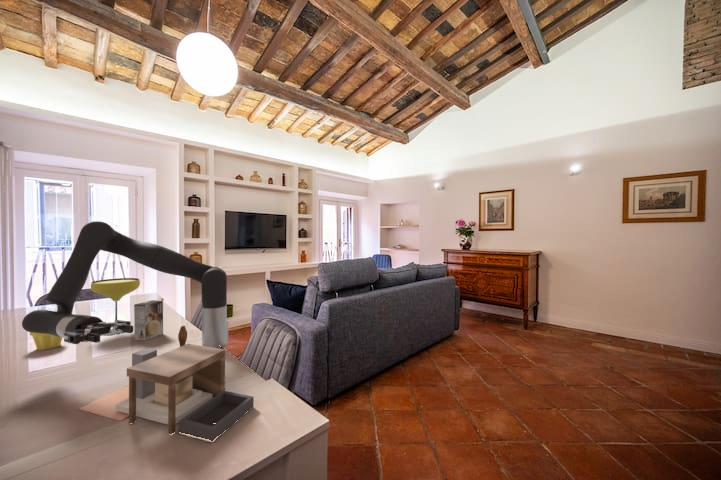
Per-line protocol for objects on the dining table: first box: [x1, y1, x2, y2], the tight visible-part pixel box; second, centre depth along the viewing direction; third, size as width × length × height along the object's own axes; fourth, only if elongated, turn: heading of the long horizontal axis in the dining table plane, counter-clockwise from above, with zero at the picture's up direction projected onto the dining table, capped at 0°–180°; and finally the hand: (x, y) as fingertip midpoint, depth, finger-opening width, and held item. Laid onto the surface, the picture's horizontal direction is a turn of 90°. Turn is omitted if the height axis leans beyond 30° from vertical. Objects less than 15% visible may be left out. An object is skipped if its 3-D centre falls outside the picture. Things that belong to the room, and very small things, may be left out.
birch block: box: [155, 375, 192, 407], centre depth 76 cm, size 6×6×6 cm
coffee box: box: [133, 300, 164, 341], centre depth 130 cm, size 9×6×16 cm
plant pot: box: [29, 332, 63, 351], centre depth 117 cm, size 10×10×10 cm
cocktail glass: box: [90, 277, 141, 336], centre depth 137 cm, size 18×18×25 cm
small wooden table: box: [126, 343, 226, 434], centre depth 75 cm, size 17×14×14 cm
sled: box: [116, 347, 213, 425], centre depth 77 cm, size 12×20×14 cm, turn 73°
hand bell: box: [177, 325, 188, 347], centre depth 96 cm, size 8×8×16 cm
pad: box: [78, 385, 129, 421], centre depth 81 cm, size 16×16×1 cm
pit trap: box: [178, 390, 255, 441], centre depth 71 cm, size 14×10×3 cm
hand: (116, 333), depth 82 cm, fingers open, 8 cm apart
